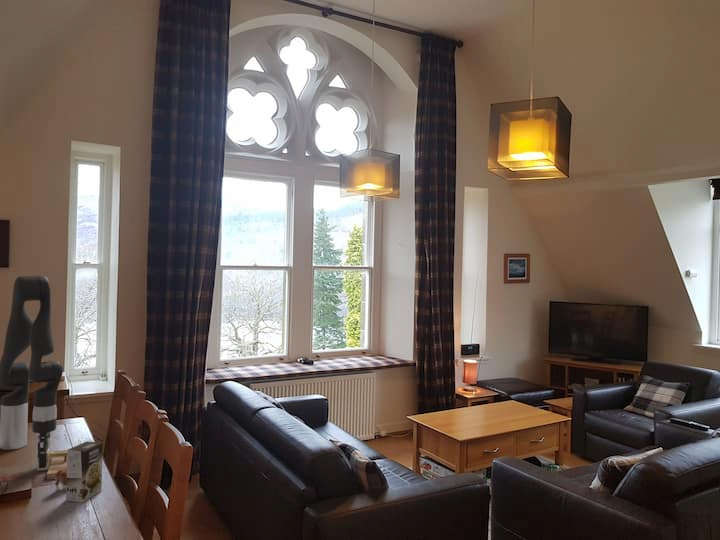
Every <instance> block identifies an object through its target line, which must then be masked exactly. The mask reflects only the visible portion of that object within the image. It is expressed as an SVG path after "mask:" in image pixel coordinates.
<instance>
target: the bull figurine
mask: <svg viewBox="0 0 720 540" xmlns="http://www.w3.org/2000/svg"><path fill="white" fill-rule="evenodd" d="M55 477H56V479H55V481H56V482H55V483H54V485H55V491H56V490H57V492H59V491H60V488H59V484H60V485H61V488H62V489H64V488H66V481H67V467H65V468H62V469H60V470H59V471H57V473H56V475H55ZM58 490H59V491H58Z"/></svg>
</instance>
